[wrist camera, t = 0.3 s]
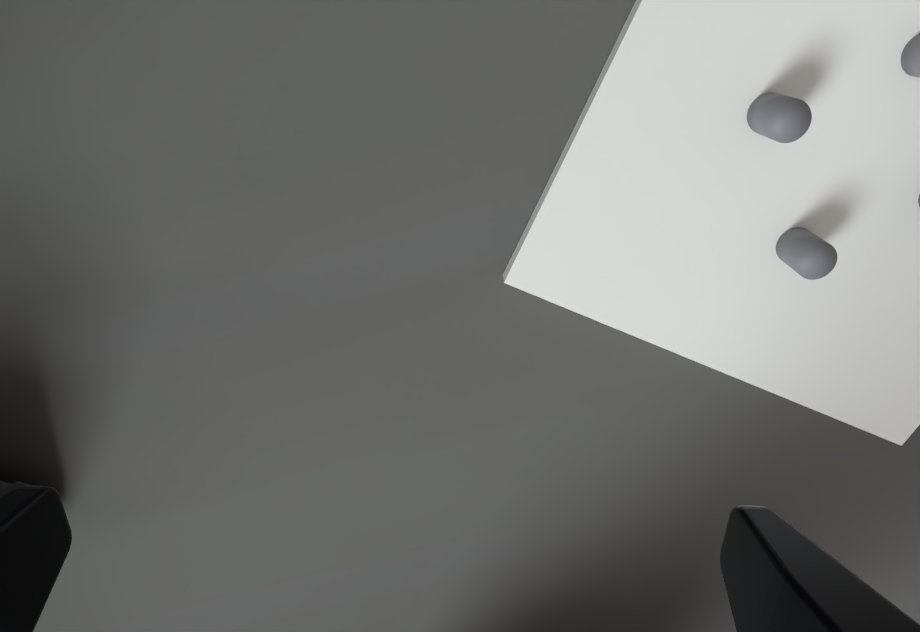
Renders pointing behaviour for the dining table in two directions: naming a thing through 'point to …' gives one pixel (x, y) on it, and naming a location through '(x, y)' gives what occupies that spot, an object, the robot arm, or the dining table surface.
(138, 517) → the dining table surface
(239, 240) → the dining table surface
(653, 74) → the peg board
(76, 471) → the dining table surface
